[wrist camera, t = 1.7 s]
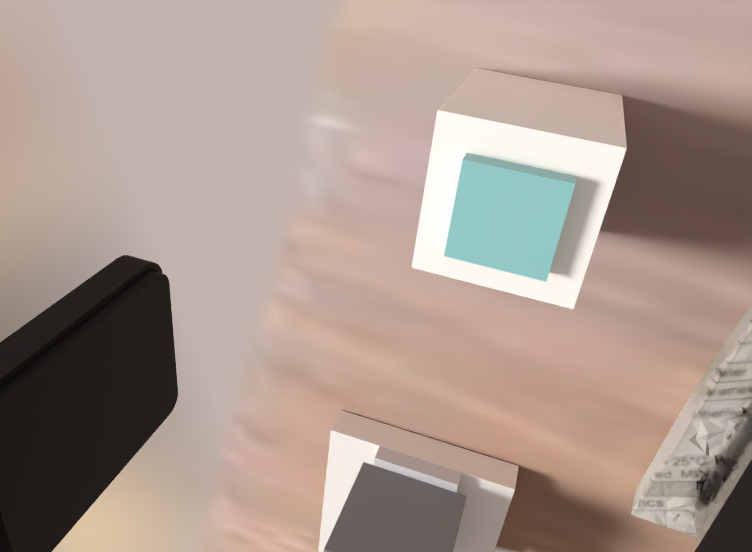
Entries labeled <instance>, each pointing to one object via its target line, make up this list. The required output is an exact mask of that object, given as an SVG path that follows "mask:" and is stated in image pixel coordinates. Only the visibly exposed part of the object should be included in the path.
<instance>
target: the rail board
mask: <svg viewBox="0 0 752 552" xmlns="http://www.w3.org/2000/svg"><path fill="white" fill-rule="evenodd" d="M518 468H519V466H517V465H514V464H511V463H508V462H504V461H501V460H498V459H495V458H492V457H489V456H485V455H482V454H479V453H476V452H473V451H470V450H466V449H463V448H460V447H457V446H454V445H451V444H447V443H444V442H441V441H438V440H435V439H431V438H428V437H425V436H422V435H419V434H416V433H412V432H409V431H406V430H403V429H400V428H397V427H393V426H390V425H387V424H384V423H381V422H378V421H374V420H371V419H368V418H365V417H362V416H359V415H355V414H352V413H349V412H346V411H343V410H342V411H341V413H340V415H339V416H338V418H337V420H336V422H335V424H334V426H333V427H332V429H331V435H330V445H329V454H328V464H327V473H326V483H325V493H324V502H323V512H322V521H321V531H320V541H319V550H318V552H494V551H495V548H496V545H497V542H498V539H499V536H500V533H501V530H502V527H503V524H504V521H505V518H506V515H507V512H508V509H509V506H510V503H511V500H512V497H513V494H514V491H515V486H516V480H517V474H518Z"/></svg>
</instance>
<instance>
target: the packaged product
mask: <svg viewBox="0 0 752 552" xmlns="http://www.w3.org/2000/svg"><path fill="white" fill-rule="evenodd" d="M751 459H752V303H751V305H750V306H749V308H748V309H747V311H746V312H745V314H744V315H743V317H742V318H741V320H740V321H739V323H738V324H737V326H736V327H735V329H734V330H733V332H732V333H731V335H730V336H729V338H728V339H727V341H726V342H725V344H724V345H723V347H722V348H721V350H720V351H719V353H718V354H717V355H716V357H715V359H714V360H713V362H712V363H711V365H710V366H709V368H708V369H707V371H706V373H705V374H704V376H703V377H702V379H701V380H700V382H699V384H698V385H697V387H696V388H695V390H694V391H693V393H692V395H691V397H690V398H689V400H688V401H687V403H686V404H685V406H684V407H683V409H682V411H681V412H680V414H679V416H678V418H677V419H676V421H675V423H674V425H673V426H672V428H671V430H670V431H669V433H668V435H667V437H666V438H665V440H664V442H663V443H662V445H661V447H660V449H659V450H658V452H657V454H656V455H655V457H654V459H653V461H652V462H651V464H650V466H649V468H648V469H647V471H646V473H645V474H644V476H643V478H642V480H641V481H640V483H639V485H638V487H637V490H636V492H635V495H634V501H633V507H632V513H631V514H632V515H634V516H636V517H639V518H642V519H645V520H648V521H650V522H653V523H655V524H658V525H661V526H664V527H668V528H671V529H675V530H678V531H680V532H683V533H686V534H688V535H691V536H694V537H696V539H697V547H698V545H699V544H700V542H701V541H702V539H703V537H704V536H705V534H706V532H707V531H708V529H709V528H710V526H711V524H712V523H713V521H714V519H715V518H716V516H717V515H718V513H719V511H720V510H721V508H722V507H723V505H724V503H725V502H726V500H727V498H728V497H729V495H730V494H731V492H732V490H733V489H734V487H735V485H736V484H737V482H738V481H739V479H740V477H741V476H742V474H743V472H744V471H745V469H746V468H747V466H748V464H749V463H750V461H751Z"/></svg>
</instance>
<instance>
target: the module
mask: <svg viewBox="0 0 752 552" xmlns="http://www.w3.org/2000/svg"><path fill="white" fill-rule="evenodd" d="M626 150H627V144H626V133H625V122H624V111H623V100H622V95H618V94H613V93H607V92H602V91H597V90H591V89H586V88H580V87H575V86H570V85H564V84H559V83H554V82H548V81H543V80H537V79H532V78H527V77H521V76H516V75H510V74H505V73H500V72H494V71H489V70H484V69H478V68H475V69H474V70H473V71H472V72H471V74H470V75H469V76H468V77H467V78H466V79H465V80H464V81H463V82H462V84H461V85H460V86H459V87H458V88H457V89H456V90H455V91H454V92H453V93H452V95H451V96H450V97H449V98H448V99H447V100H446V101H445V102H444V103H443V105H442V106H441V107H440V108H439V109H438V110H437V116H436V123H435V129H434V135H433V141H432V147H431V153H430V159H429V165H428V171H427V177H426V183H425V189H424V195H423V201H422V208H421V214H420V220H419V226H418V232H417V238H416V244H415V250H414V256H413V262H412V268H415V269H419V270H423V271H427V272H431V273H435V274H439V275H442V276H446V277H450V278H454V279H458V280H462V281H466V282H470V283H473V284H477V285H481V286H485V287H489V288H493V289H497V290H501V291H504V292H508V293H512V294H516V295H520V296H524V297H528V298H532V299H535V300H539V301H543V302H547V303H551V304H555V305H559V306H563V307H566V308H570V309H574V306H575V303H576V300H577V297H578V294H579V291H580V288H581V285H582V282H583V279H584V276H585V273H586V270H587V267H588V264H589V261H590V258H591V255H592V252H593V249H594V246H595V243H596V240H597V237H598V234H599V231H600V228H601V225H602V222H603V219H604V216H605V213H606V210H607V207H608V204H609V201H610V198H611V195H612V192H613V189H614V186H615V183H616V180H617V177H618V174H619V171H620V168H621V165H622V162H623V159H624V156H625V153H626Z"/></svg>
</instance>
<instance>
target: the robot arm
mask: <svg viewBox="0 0 752 552" xmlns="http://www.w3.org/2000/svg"><path fill="white" fill-rule="evenodd" d="M177 396H178V387H177V375H176V362H175V350H174V337H173V325H172V313H171V301H170V288H169V280H168V278H167V276H166V275H164V274H162V270H161V268H160V266H159V265H158V264H156V263H153V262H150V261H146V260H143V259H139V258H135V257H131V256H128V255H126V256H125V255H123V256H121V257H119V258H117V259H116V260H114V261H113V262H112V263H110V264H109V265H107V266H106V267H105V268H103V269H102V270H100V271H99V272H98V273H96V274H95V275H94V276H92V277H91V278H90V279H88V280H87V281H85V282H84V283H82V284H81V285H80V286H78V287H77V288H75V289H74V290H73V291H71V292H70V293H68V294H67V295H66V296H64V297H63V298H62V299H60V300H59V301H57V302H56V303H55V304H53V305H52V306H51V307H49V308H48V309H46V310H45V311H43V312H42V313H41V314H39V315H38V316H37V317H35V318H34V319H32V320H31V321H29V322H28V323H27V324H25V325H24V326H23V327H21V328H20V329H18V330H17V331H16V332H15V333H13V334H11V335H10V336H9V337H7V338H6V339H4V340H3V341H2V342H0V552H52V551H53V549H54V548H55V547H56V546H57V545H58V544H59V542H60V541H61V540H62V539H63V538H64V537H65V535H66V534H67V533H68V532H69V531H70V530H71V529H72V527H73V526H74V525H75V524H76V523H77V521H78V520H79V519H80V518H81V517H82V516H83V515H84V513H85V512H86V511H87V510H88V509H89V508H90V506H91V505H92V504H93V503H94V502H95V500H96V499H97V498H98V497H99V496H100V495H101V493H102V492H103V491H104V490H105V489H106V488H107V487H108V485H109V484H110V483H111V482H112V481H113V480H114V478H115V477H116V476H117V475H118V474H119V473H120V471H121V470H122V469H123V468H124V467H125V466H126V464H127V463H128V462H129V461H130V460H131V459H132V458H133V456H134V455H135V454H136V453H137V452H138V451H139V449H140V448H141V447H142V446H143V445H144V443H145V442H146V441H147V440H148V439H149V438H150V437H151V435H152V434H153V433H154V432H155V431H156V429H157V428H158V427H159V426H160V425H161V424H162V423H163V421H164V420H165V419H166V418H167V416H169V414H170V413H171V412H172V410H173V408H174V406H175V404H176V401H177ZM695 552H752V459H751V461H750V463H749V464H748V466H747V468H746V469H745V471H744V472H743V474H742V476H741V477H740V479H739V481H738V482H737V484H736V485H735V487H734V489H733V490H732V492H731V494H730V495H729V497H728V498H727V500H726V502H725V503H724V505H723V507H722V508H721V510H720V511H719V513H718V515H717V516H716V518H715V519H714V521H713V523H712V524H711V526H710V528H709V529H708V531H707V532H706V534H705V536H704V537H703V539H702V541H701V542H700V544H699V545H698V547H697V549H696V550H695Z"/></svg>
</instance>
